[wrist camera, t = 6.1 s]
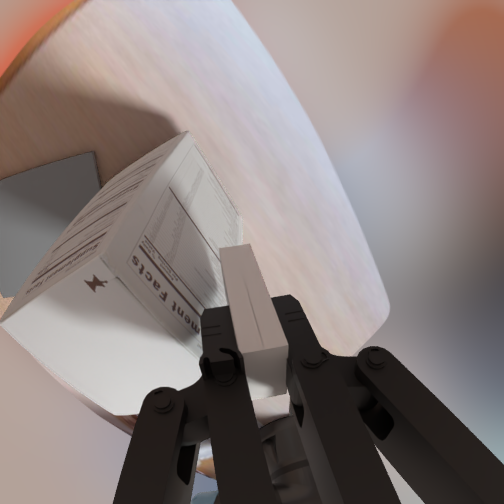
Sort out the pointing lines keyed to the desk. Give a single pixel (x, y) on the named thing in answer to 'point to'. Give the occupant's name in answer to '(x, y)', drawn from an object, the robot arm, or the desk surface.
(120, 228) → the supplement box
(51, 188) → the mat
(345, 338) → the desk surface
